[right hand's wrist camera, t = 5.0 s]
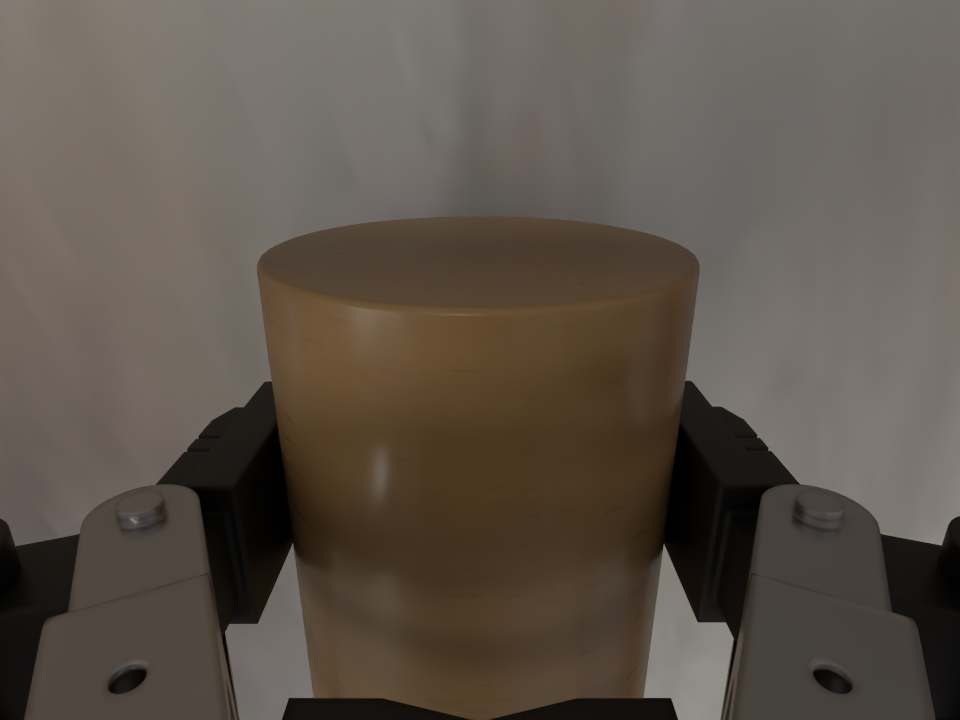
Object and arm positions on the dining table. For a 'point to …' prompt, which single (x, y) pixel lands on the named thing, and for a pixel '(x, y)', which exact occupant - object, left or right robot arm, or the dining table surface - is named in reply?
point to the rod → (478, 453)
